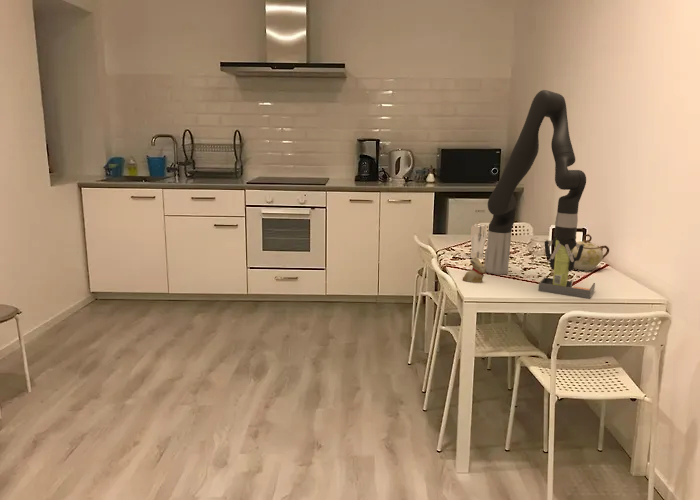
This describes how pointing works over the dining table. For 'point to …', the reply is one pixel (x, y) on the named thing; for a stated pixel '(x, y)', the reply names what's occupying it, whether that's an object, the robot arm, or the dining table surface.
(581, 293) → the channel
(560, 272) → the tube
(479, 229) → the beer glass
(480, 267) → the chocolate bunny
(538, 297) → the dining table surface
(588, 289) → the pad
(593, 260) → the sugar bowl
